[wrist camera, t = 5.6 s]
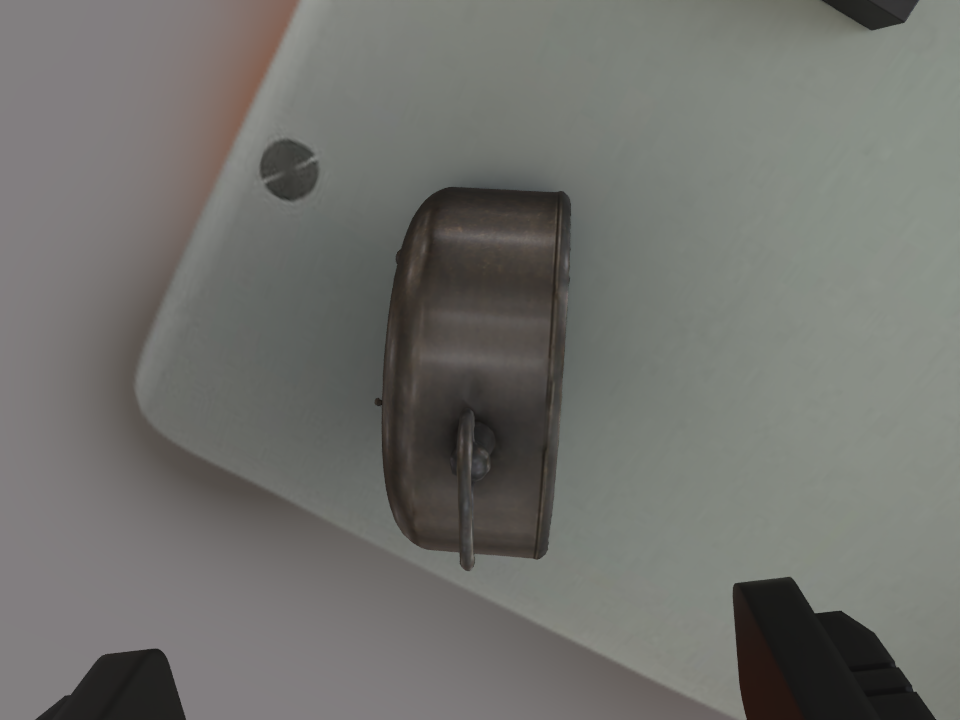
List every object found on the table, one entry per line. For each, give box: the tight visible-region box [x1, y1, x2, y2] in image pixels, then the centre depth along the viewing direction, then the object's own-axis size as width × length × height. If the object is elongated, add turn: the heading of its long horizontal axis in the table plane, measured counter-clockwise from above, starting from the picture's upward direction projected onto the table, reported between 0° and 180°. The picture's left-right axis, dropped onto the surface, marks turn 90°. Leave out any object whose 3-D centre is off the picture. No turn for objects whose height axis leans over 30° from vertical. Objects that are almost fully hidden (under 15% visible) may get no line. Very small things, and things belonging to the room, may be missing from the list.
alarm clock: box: [375, 187, 571, 571], centre depth 23 cm, size 11×5×16 cm, turn 177°
